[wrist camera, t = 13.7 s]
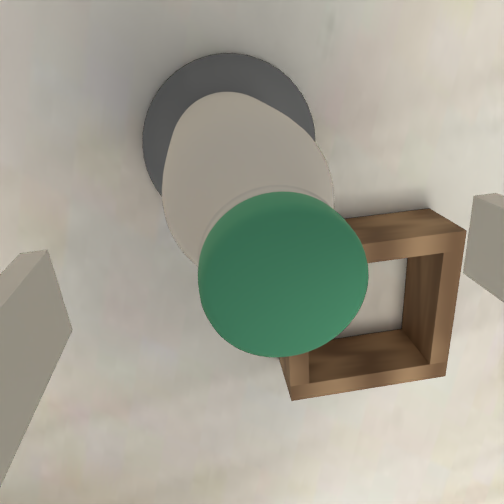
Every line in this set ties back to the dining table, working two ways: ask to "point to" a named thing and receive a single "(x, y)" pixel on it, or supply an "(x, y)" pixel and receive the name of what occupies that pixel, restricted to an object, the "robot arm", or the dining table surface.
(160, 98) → the slate coaster
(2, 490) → the dining table surface
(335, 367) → the walnut pocket
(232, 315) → the milk bottle
